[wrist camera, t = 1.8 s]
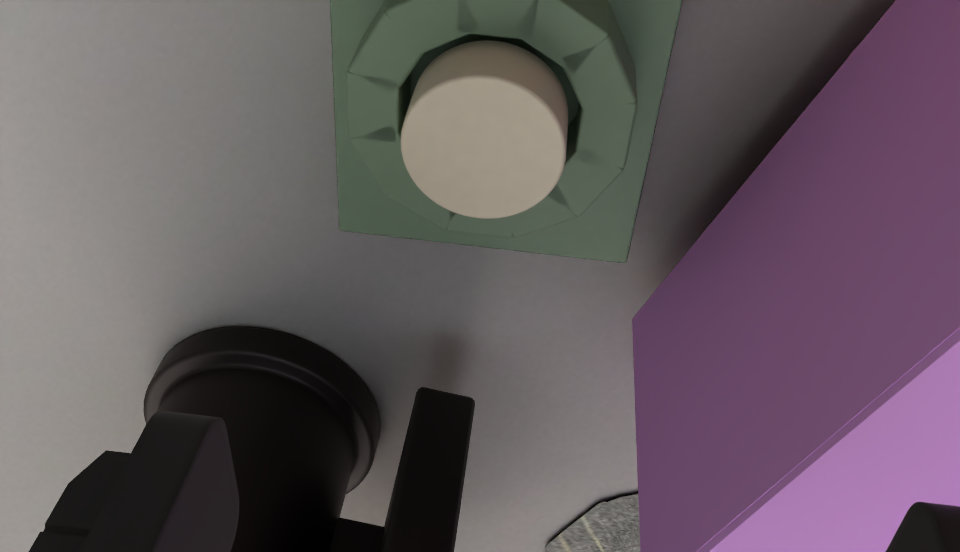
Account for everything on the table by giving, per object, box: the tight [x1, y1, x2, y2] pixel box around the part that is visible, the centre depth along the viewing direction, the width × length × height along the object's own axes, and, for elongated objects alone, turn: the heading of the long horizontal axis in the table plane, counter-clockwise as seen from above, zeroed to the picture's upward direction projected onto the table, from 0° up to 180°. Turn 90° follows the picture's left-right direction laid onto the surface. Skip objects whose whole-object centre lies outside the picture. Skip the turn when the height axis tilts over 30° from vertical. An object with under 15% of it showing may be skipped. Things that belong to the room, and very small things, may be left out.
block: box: [330, 0, 682, 263], centre depth 22 cm, size 10×8×4 cm
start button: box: [401, 40, 569, 219], centre depth 21 cm, size 4×4×2 cm
